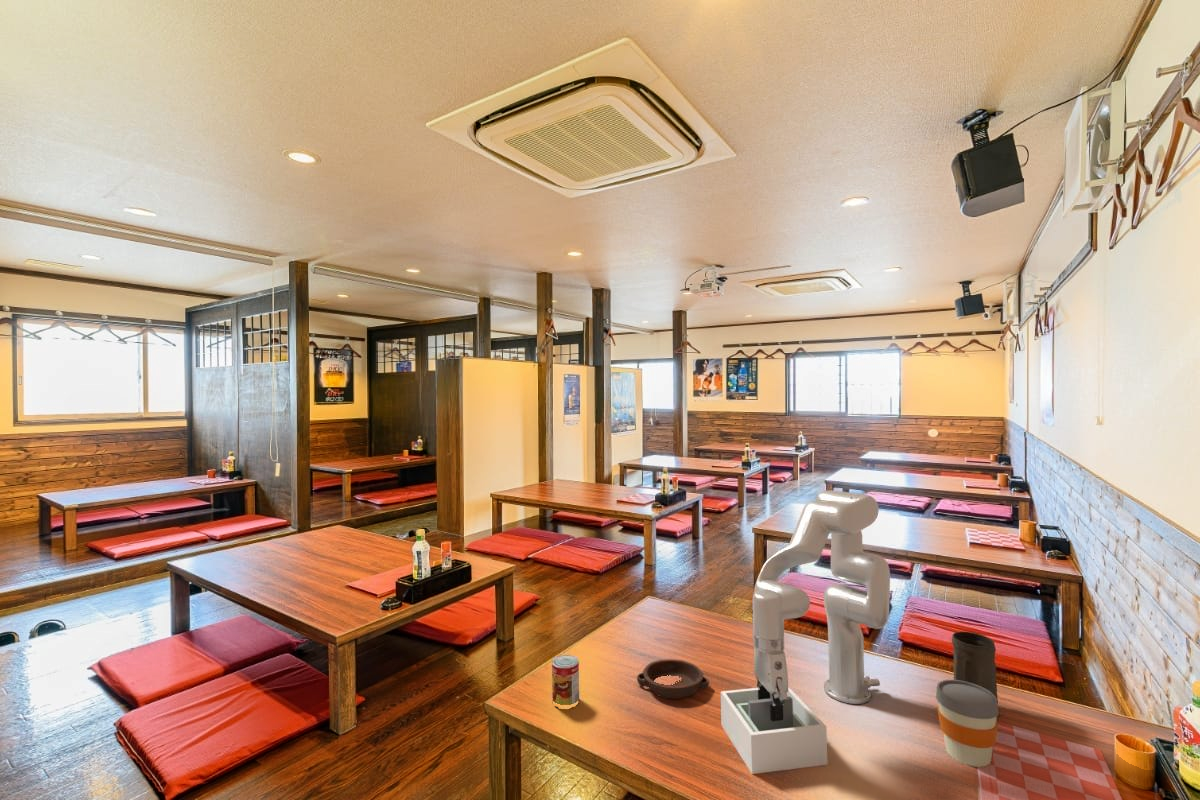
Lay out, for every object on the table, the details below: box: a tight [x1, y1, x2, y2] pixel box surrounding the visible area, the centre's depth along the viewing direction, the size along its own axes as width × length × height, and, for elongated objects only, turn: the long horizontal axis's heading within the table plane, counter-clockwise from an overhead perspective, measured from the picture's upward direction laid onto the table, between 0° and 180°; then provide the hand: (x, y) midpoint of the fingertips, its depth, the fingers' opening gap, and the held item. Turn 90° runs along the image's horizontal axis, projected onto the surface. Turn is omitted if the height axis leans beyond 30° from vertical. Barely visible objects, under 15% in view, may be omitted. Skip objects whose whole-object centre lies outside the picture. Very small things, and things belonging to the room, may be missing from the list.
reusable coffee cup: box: [935, 679, 1000, 768], centre depth 127 cm, size 13×13×15 cm
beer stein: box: [951, 631, 1000, 718], centre depth 144 cm, size 15×11×20 cm
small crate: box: [736, 696, 806, 732], centre depth 132 cm, size 13×13×10 cm
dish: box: [636, 658, 710, 700], centre depth 159 cm, size 18×22×5 cm
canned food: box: [551, 654, 580, 705], centre depth 152 cm, size 8×8×12 cm
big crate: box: [720, 686, 828, 775], centre depth 132 cm, size 19×19×9 cm
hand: (770, 711), depth 132 cm, fingers open, 6 cm apart
